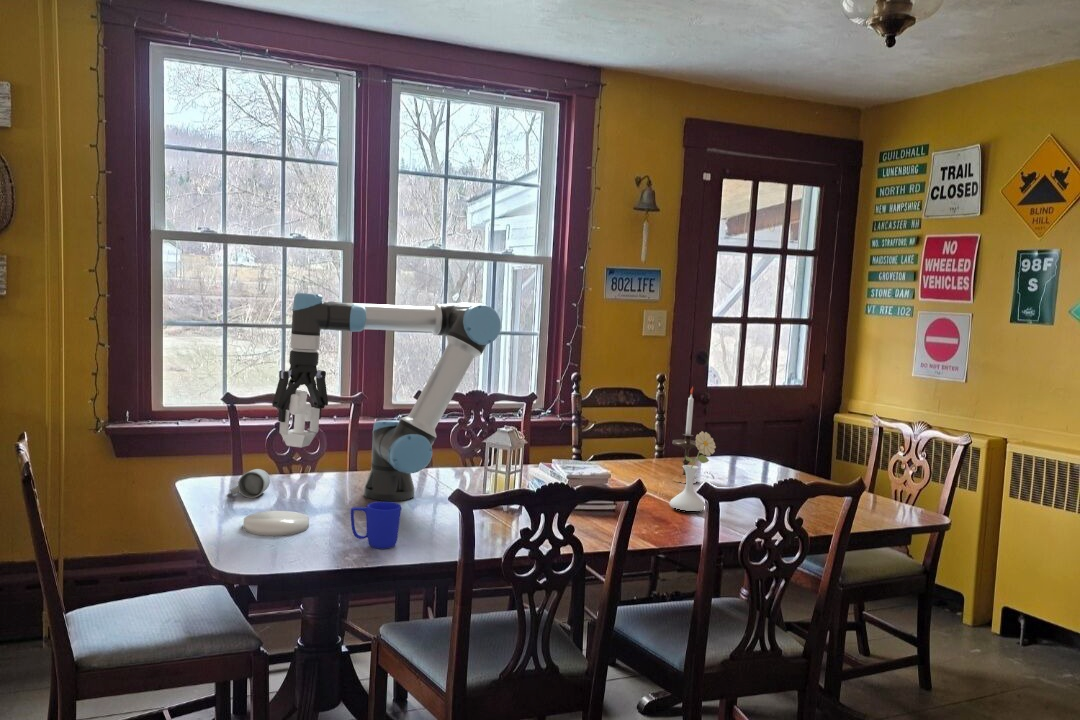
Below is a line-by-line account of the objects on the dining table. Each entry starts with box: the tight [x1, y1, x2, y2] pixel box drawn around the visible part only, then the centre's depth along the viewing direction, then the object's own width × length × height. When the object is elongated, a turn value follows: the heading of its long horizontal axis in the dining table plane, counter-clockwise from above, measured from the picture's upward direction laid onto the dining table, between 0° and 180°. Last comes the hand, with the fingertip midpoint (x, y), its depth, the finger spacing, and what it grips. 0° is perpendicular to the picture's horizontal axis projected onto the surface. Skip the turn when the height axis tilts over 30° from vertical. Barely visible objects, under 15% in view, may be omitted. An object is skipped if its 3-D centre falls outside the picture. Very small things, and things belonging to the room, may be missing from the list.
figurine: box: [280, 389, 318, 448], centre depth 226 cm, size 7×9×15 cm
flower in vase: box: [668, 430, 717, 512], centre depth 259 cm, size 13×11×25 cm
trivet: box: [242, 510, 310, 537], centre depth 213 cm, size 16×16×2 cm
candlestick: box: [672, 385, 697, 475], centre depth 302 cm, size 11×11×35 cm
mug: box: [350, 501, 402, 550], centre depth 203 cm, size 8×12×10 cm
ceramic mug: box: [229, 468, 271, 499], centre depth 243 cm, size 11×8×8 cm
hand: (299, 432), depth 226 cm, fingers closed on figurine, 9 cm apart
